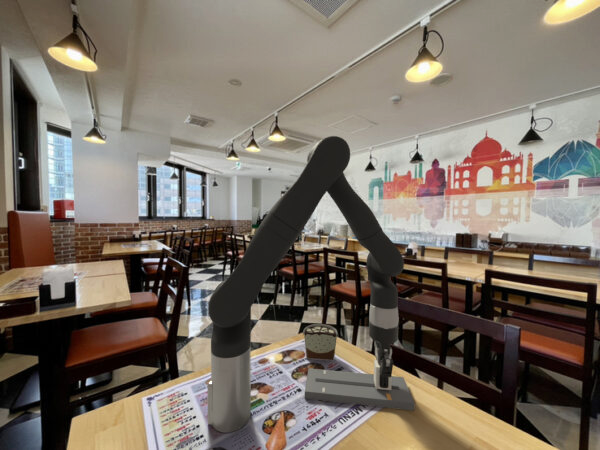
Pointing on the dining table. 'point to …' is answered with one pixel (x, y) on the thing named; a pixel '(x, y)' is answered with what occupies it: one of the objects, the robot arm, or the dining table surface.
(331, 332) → the food container
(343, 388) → the fader board
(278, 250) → the robot arm
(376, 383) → the slider handle
